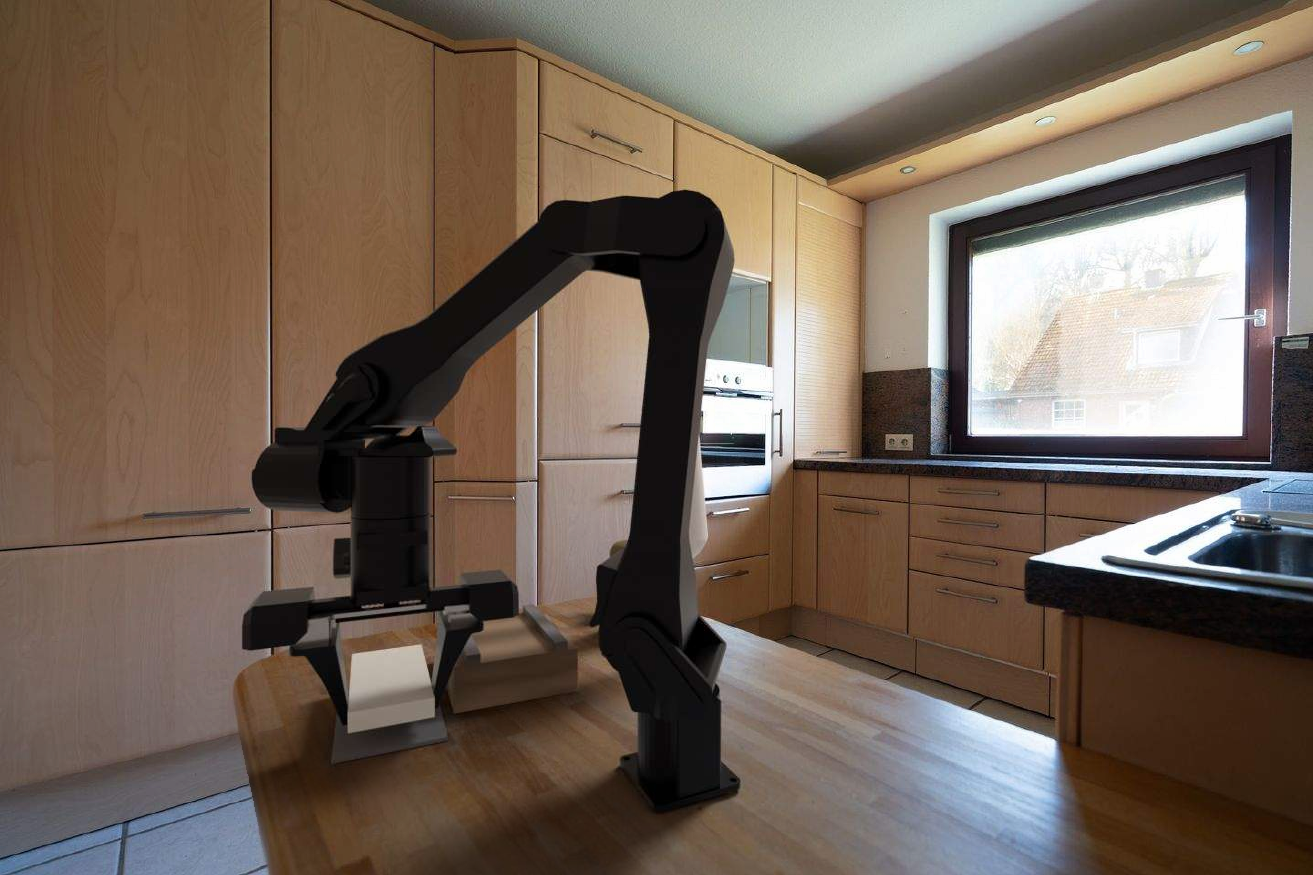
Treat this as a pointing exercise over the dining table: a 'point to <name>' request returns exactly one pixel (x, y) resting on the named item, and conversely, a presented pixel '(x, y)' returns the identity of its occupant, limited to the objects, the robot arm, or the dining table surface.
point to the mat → (386, 738)
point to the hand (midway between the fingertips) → (391, 714)
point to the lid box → (513, 663)
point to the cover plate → (389, 688)
